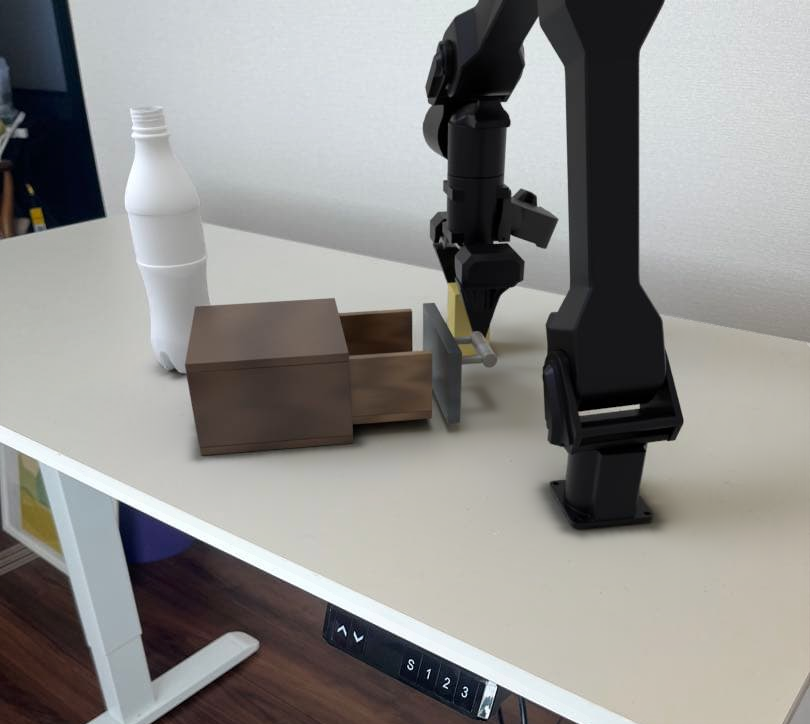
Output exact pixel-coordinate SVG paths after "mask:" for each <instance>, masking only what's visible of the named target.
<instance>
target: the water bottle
mask: <svg viewBox="0 0 810 724" xmlns="http://www.w3.org/2000/svg"><path fill="white" fill-rule="evenodd" d="M129 113H130V119H131V123H132V126H131V130H132V133H131V138H132V139H134V143H135V144H134V146H135V147H134V149H135V151H134V158H133V162H132V166H131V168H130V172H129V175H128V179H127V183H126V186H125V191H124V209H125V211H126V212H127V217H128V223H129V228H130V234H131V238H132V239H131V240H132V243H133V249H134V253H135V260H136V264H137V266H138V268H139V271H140V274H141V276H142V279H143V283H144V286H145V291H146V294H147V295H146V296H147V299H148V305H149V313H150V342H151V346H152V350H153V352H154V355H155V357H156V359H157V360H158V362H159V364H160V365H161V366H162V367H163V368H164V369H165V370H167V371H172V370H173V369H176V371H177V372H179V373H180V374H183V375H186V369H185V360H186V354H187V349H188V343H189V338H190V332H191V327H192V321H193V316H194V310H195V307H196V306H211V305H212V304H211V300H210V295H209V287H208V275H207V262H208V253H207V248H206V241H205V233H204V228H203V227H204V226H203V220H202V213H201V207H200V206H201V200H200V195H199V193H198V190H197V188H196V187H195V184H194V183H193V182H192V179H191V178H190V176H189V175H188V173H187V171H186V169H184V167H183V165H182V163H180V161H179V159H178V158H177V156H176V155H175V153H174V151H173V148H172V145H171V142H170V138H169V137H171V132H170V131H169V130H168V128H169V126H168V125H167V124H166V116H165V111H164V106H161V105H144V106H134V107H130V108H129Z"/></svg>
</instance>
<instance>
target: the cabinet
mask: <svg viewBox="0 0 810 724" xmlns="http://www.w3.org/2000/svg"><path fill="white" fill-rule="evenodd" d="M339 313H340V312H339V308H338V306H337V301H336V298H335V297H328V298H311V299H310V298H309V299H296V300H295V299H294V300H277V301H263V302H262V301H261V302H246V303H245V302H244V303H231V304H230V303H229V304H214V305H213V304H211V306H196V307H195V310H194V316H193V321H192V327H191V332H190V338H189V343H188V349H187V354H186V360H185V369H186V374H185V375H186V379H187V386H188V390H189V397H190V402H191V409H192V414H193V420H194V427H195V432H196V439H197V443H198V448H199V454H200V456H211V455H223V454H225V455H226V454H236V453H247V452H259V451H261V452H262V451H272V450H284V449H285V450H286V449H296V448H297V449H298V448H308V447H309V448H310V447H322V446H334V445H344V444H345V445H346V444H353V443H354V426H353V425H354V424H353V423H352V405H351V386H350V368H349V352H348V348H347V344H346V341H345V337H344V333H343V329H342V325H341V321H340V317H339Z"/></svg>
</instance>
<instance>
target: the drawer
mask: <svg viewBox="0 0 810 724" xmlns="http://www.w3.org/2000/svg"><path fill="white" fill-rule="evenodd" d="M338 313H339V317H340V321H341V325H342V329H343V333H344V337H345V341H346V344H347V348H348V352H349V368H350V386H351V405H352V423H353V425H363V424H377V423H386V422H387V423H389V422H401V421H403V422H404V421H415V420H427V419H432V418H433V393H434V396H435V398H436V400H437V402H438V405H439V407H440V409H441V413H442V414H443V416H444V419H445V421H446V423H447V424H459V423H461V411H462V410H461V407H462V405H461V404H462V374H463V373H462V372H463V366H464V365H476V364H477V365H478V364H483V366H484V367H485V368H489V369H490V368H494V367H495V366H496V365H497V363H498V356H497V355H496V354H495V352H494V350H493V349H492V346H490V343H489V344H488V342H487V341H486V339H485V338H484V336H483V335H482V333H481V332H479V331H474V332H472V333H471V334H470V336H466V337H453V335H452V333H451V332H450V330H449V328H448V326H447V322H446V321H445V319H444V317H443V316H442V314H441V312H440V310H439V308H438V307H437V305H436V303H435V302H427V303H426V302H424V303H422V350H413V348H414V347H413V346H414V345H413V342H414V341H413V310H412V308H399V309H398V308H397V309H396V308H395V309H383V310H367V311H350V312H338ZM470 343H471V344H472V346H473V348H474V349H475V351H476V353H477V354H478V355H474V356H462V351H461V349H460V348H459V346H458V345H460V344H470Z"/></svg>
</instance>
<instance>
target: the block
mask: <svg viewBox="0 0 810 724" xmlns="http://www.w3.org/2000/svg"><path fill="white" fill-rule="evenodd" d="M446 314H447V316H446V324H447V326H448V328H449V330H450V332H451V333H452V335H453V337H466V336H470V334H471V333H472V330H471V327H470V324H469V321H468V317H467V314H466V311H465V308H464V305H463V302H462V299H461V296H460V293H459V290H458V287H457V284H456V283H448V284H447V313H446ZM490 334H491V325H490V326H489V329H488V332H487V335H486V338H485V339H486V341H487V342H488V344H489V345H490V338H491V337H490V336H491V335H490ZM458 346H459V348H460V349H461V351H462V357H464V356H478V354H477V353H476V351H475V349H474V348H473V346H472V344H471V343H470V344H460V345H458Z"/></svg>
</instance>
